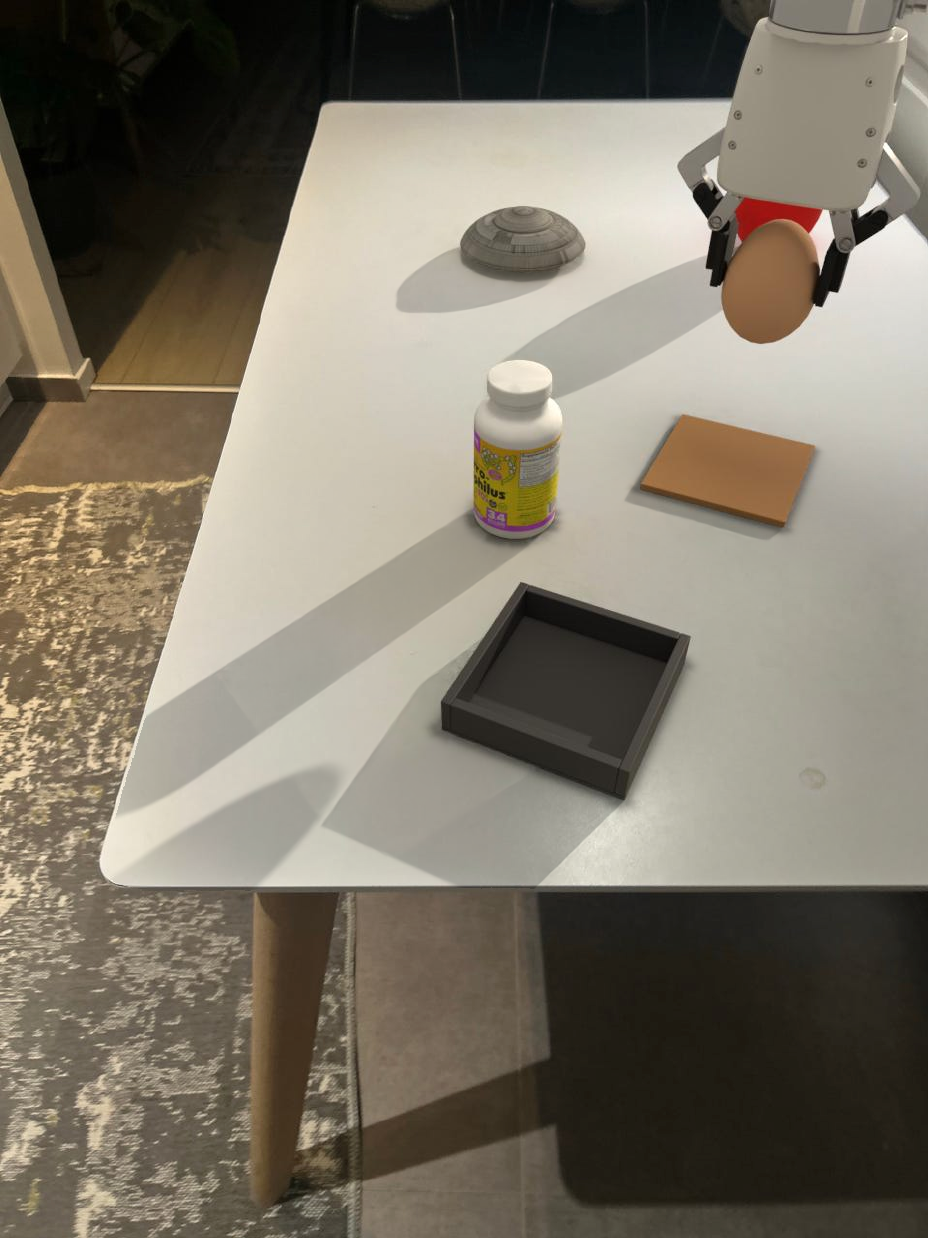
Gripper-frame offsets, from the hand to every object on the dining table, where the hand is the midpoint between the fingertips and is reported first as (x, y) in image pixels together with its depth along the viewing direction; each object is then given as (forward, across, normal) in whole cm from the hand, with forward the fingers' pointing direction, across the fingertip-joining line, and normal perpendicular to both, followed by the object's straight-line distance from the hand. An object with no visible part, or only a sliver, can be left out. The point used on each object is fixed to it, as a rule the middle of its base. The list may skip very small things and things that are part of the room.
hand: (769, 287), depth 67 cm
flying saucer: (+17, +34, -34) cm, 51 cm away
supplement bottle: (+17, +14, +13) cm, 26 cm away
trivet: (+17, 0, 0) cm, 17 cm away
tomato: (+17, +8, -48) cm, 52 cm away
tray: (+17, +3, +30) cm, 34 cm away
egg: (+4, 0, 0) cm, 4 cm away
